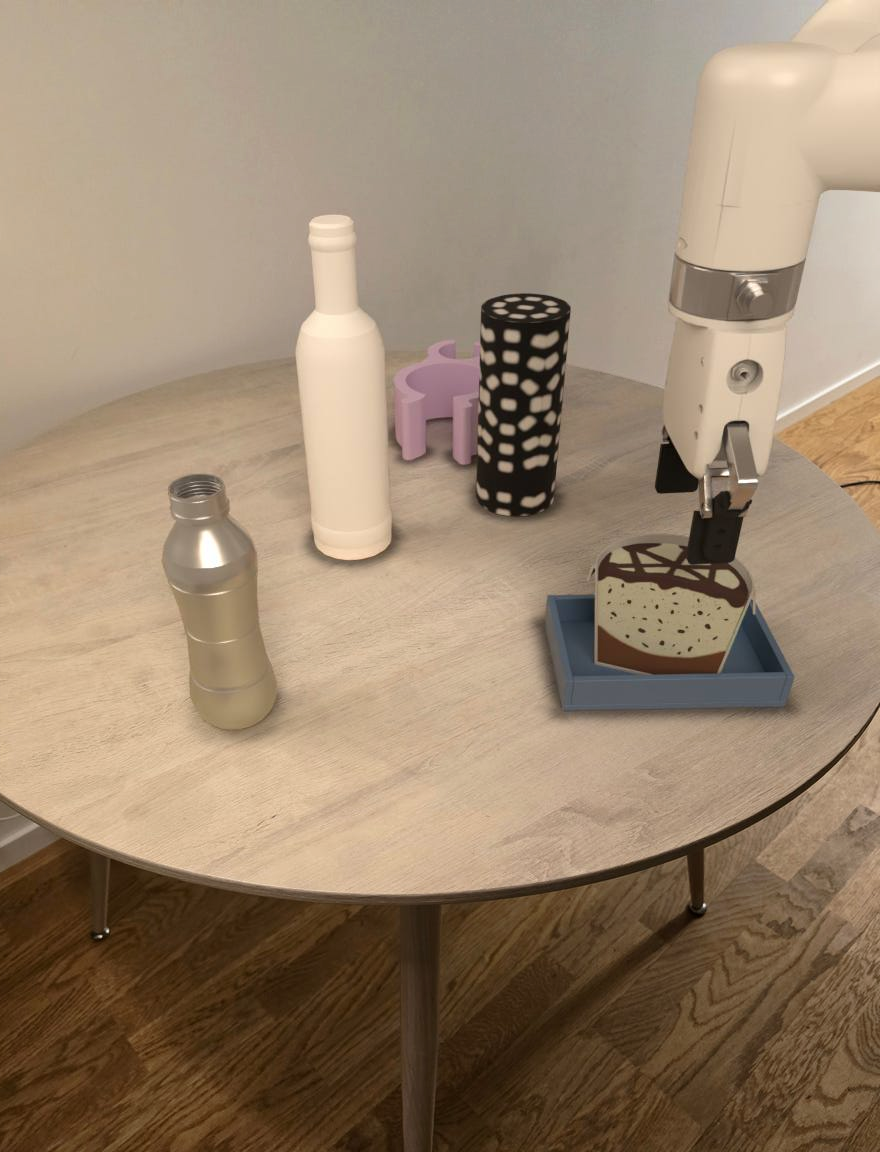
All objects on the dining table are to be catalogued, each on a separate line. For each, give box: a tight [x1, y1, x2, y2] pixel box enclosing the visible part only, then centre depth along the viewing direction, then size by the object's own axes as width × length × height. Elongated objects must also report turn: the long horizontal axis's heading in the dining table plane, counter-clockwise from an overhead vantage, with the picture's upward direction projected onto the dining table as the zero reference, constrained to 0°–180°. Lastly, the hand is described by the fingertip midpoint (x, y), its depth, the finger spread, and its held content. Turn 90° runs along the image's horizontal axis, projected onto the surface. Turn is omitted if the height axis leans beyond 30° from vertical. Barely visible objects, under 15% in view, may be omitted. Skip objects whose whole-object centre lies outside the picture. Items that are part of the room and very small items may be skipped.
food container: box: [586, 533, 757, 675], centre depth 70 cm, size 12×6×10 cm, turn 67°
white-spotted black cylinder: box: [475, 292, 572, 517], centre depth 90 cm, size 8×8×20 cm
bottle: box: [294, 214, 393, 561], centre depth 80 cm, size 8×8×30 cm
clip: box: [393, 339, 480, 466], centre depth 108 cm, size 20×12×7 cm, turn 167°
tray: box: [544, 593, 796, 712], centre depth 73 cm, size 17×11×3 cm, turn 90°
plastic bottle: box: [161, 473, 278, 731], centre depth 64 cm, size 6×7×20 cm
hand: (691, 524), depth 66 cm, fingers open, 9 cm apart
